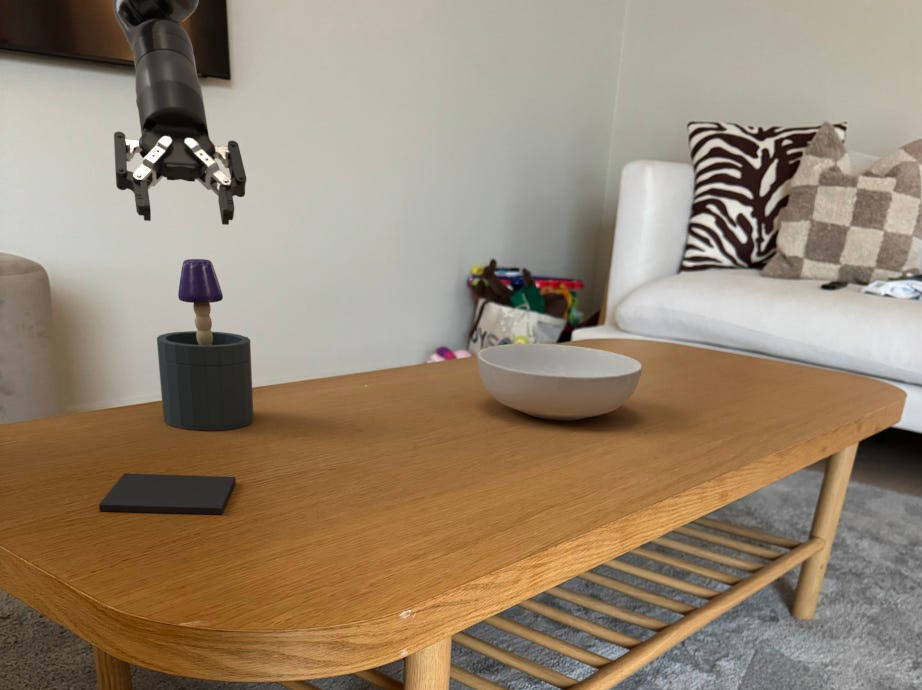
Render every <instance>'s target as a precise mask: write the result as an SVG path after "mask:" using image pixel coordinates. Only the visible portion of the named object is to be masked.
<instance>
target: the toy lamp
mask: <svg viewBox="0 0 922 690" xmlns="http://www.w3.org/2000/svg"><path fill="white" fill-rule="evenodd" d="M177 295H178V300H179V301H181V302H184V303H191V304H193V307H192V308H193V312H194V314H195V318H194V325H195V328H196V331H197V333H196V338H197V341H198V343H199V345H212V342H213V334H212V332H213V331H212V326H213V322H212V317H211V316H210V314H211V310H212V308H211V304H212V303H218V302H222V301H223V298H224V296H223V291H222V288H221V286H220V283H219V280H218V277H217V274H216V270H215V268H214V265H213V262H212V261H211V260H209V259H204V258H191V259H190V258H189V259H184V260H183V262H182V266H181V272H180V278H179V286H178V294H177ZM210 303H211V304H210Z"/></svg>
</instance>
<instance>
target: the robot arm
mask: <svg viewBox="0 0 922 690" xmlns="http://www.w3.org/2000/svg"><path fill="white" fill-rule="evenodd" d="M198 5H199V0H112V11H113V14H114V17H115V19H116V21H117V23H118V25H119V27H120V28H121V30H122V32H123V34H124V36H125V38H126V41H127V43H128V45H129V47H130V49H131V51H132V55H133V62H134V63H133V64H134V71H135V95H136V99H135V101H136V102H135V103H136V107H137V110H138V118H139V125H140V133H141V134H140V135H141V136H140V138H139V139H131V138H126V134H125V133H124V132H123V131H115V132H114V133H113V141H114V142H113V146H114V168H115V169H114V170H115V184H116V188H117V189H118V190H120V191H125V190H130V191H131V192H132V193H133V194H134V201H135V202H134V203H135V210H136V213H137V215H138V216H143V221H145V222H146V221H147V222H151V221H152V217H151V212H152V211H151V202H150V201H151V200H150V196H149V195H150V194H149V190H150V189H151V188H152V187H154V188H155V187H156V185H157V184H158V183H159V182H160V181H161V180H162V179H163V178H165V179H166V180H167V181H178V180H182V181H185V182H192V183H193V182H196V180H197V181H198V182H199V183H200V184H201V185H202V186H203V187H204V188H205V189H206V190H207V191H210V190H211V191H212V192H213V193H214V194H215V195H216V196H218V199H217V200H218V206H219V213H220V214H219V215H220V220H221V225H222V226H223V225H225V226H228V225H229V224H230V221H233V220H234V218H235V203H234V197H235V196H236V197H238V198H243V197H245V195H246V183H247V175H246V171H245V166H244V162H243V158H242V154H241V150H240V145H239V143H238V142H237V141H236V140H229V141H228V143H227V145H215V144H214V142H212V140H211V139H210V134H209V128H208V122H207V117H206V116H207V115H206V110H205V103H204V97H203V92H202V90H203V89H202V87H201V83H200V79H199V77H198V73H197V72H198V71H197V66H196V59H195V54H194V49H193V44H192V41H191V38H190V35H189V34H188V32H187V31H186V29H185V28H183V26H182V24H183V22H185V21H186V20H187V19H188V18H189V17H191V15H192V14H194V12H195V11H196V9H197V8H198ZM136 154H139V156H141V158H142V159H143V160H142V163H141V164H140V165H139V166H138V167H137V169H135V170H134V172H133V171H130V170H128V163H129V162H131V161H132V160H133V159H134V156H135V155H136ZM216 159H218V160H220V162H221V164H222V165H223V166H224V168H225V169H228V172H229V176H230V177H229V176H228V175H227V174H226V173H225V172H223V170H222V169H220V167H219V163H218V162H217V161H216ZM127 162H128V163H127Z"/></svg>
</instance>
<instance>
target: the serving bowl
mask: <svg viewBox="0 0 922 690" xmlns="http://www.w3.org/2000/svg"><path fill="white" fill-rule="evenodd" d="M477 366H478V373H479V376H480V380H481V382H482V384H483V387H484V388H485V389H486V391H487V392H488V393H489V395H490V396H492V397H493V399H494V400H496V401H498V402H499V403H501V404H502V405H504V406H506V407H509V408H510V409H513V410H516V411H519V412H522V413H524V414H526V415H528V416H531V417H535V418H539V419H543V420H550V421H551V420H553V421H578V420H583V419H586V418H590V417H596V416H602V415H605V414H608V413H611V412H613V411H615V410H617V409H618V408H620V407H621V406H623V405H624V404H625V403H627V401H628V400H629V399H630V398H631V397H632V396H633V394H634V392H635V391H636V389H637V387H638V384H639V381H640V378H641V376H642V371H643V364H642V363H641V362H640V361H638V360H637V359H635V358H632V357H631V356H627V355H623V354H620V353H616V352H612V351H609V350H604V349H603V350H602V349H599V348H590V347H583V346H578V345H577V346H576V345H567V344H552V343H508V344H500V345H499V344H498V345H493V346H489V347H486V348H483V349H481V350H480V351H478V353H477Z"/></svg>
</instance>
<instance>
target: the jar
mask: <svg viewBox="0 0 922 690" xmlns="http://www.w3.org/2000/svg"><path fill="white" fill-rule="evenodd" d="M211 332H212V334H213V342H212V345H199V343H198V341H197V338H196V333H197V330H191V331H190V330H189V331H174V332H173V331H172V332H167V333H163V334H160V335H158V336H157V337H156V344H157V346H156V347H157V356H158V357H157V358H158V359H157V360H158V369H159V381H160V393H161V394H160V395H161V405H162V406H161V407H162V417H163V421H164V423H166V424H167V425H168V426H171V427H174V428H178V429H183V430H189V429H190V431H204V432H205V431H206V432H207V431H208V432H209V431H211V432H213V431H214V432H215V431H216V432H217V431H227V430H235V429H240V428H244V427H246V426H249V425H251V424H252V423H253V422H254V403H253V402H254V399H253V398H254V397H253V395H254V394H253V375H252V349H251V348H252V347H251V339H250V338H249V337H248V336H245V335H241V334H238V333H232V332H223V331H211Z"/></svg>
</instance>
